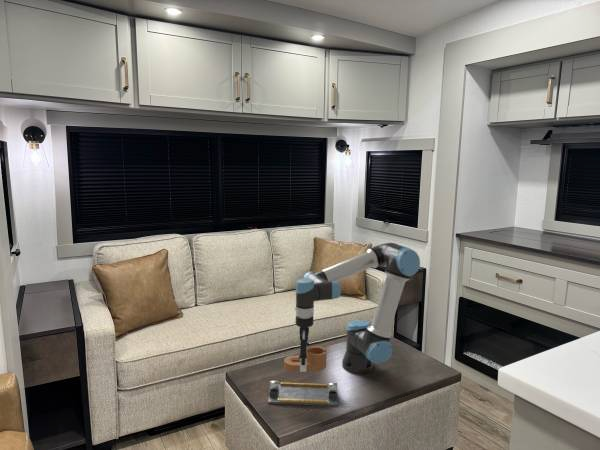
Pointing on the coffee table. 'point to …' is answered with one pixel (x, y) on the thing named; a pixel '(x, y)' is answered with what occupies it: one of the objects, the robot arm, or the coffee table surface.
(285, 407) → the coffee table surface
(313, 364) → the bracket
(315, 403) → the coupling bench
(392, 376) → the coffee table surface
